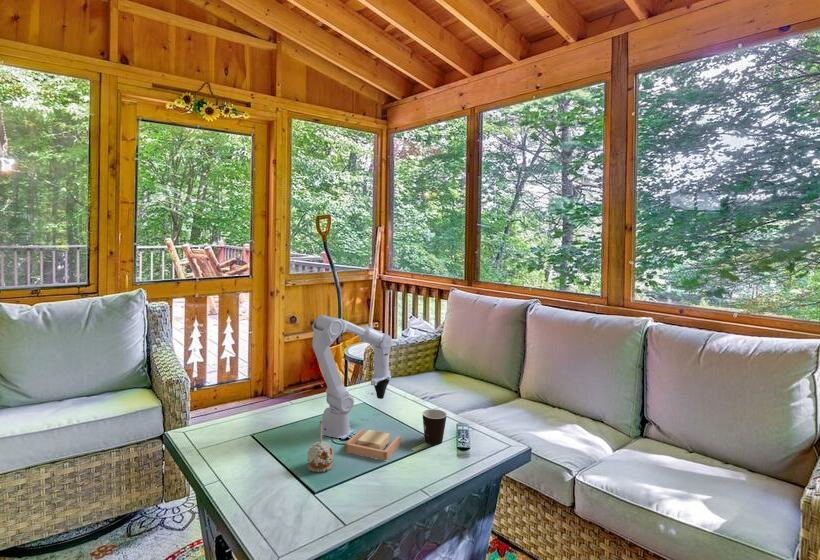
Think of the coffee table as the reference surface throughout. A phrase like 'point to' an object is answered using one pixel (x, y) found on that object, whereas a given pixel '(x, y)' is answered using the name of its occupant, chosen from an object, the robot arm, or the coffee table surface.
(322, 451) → the decorative ornament
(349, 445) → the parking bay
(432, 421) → the coffee mug
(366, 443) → the tan wooden block
